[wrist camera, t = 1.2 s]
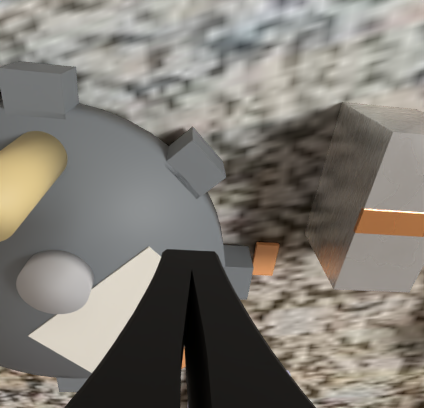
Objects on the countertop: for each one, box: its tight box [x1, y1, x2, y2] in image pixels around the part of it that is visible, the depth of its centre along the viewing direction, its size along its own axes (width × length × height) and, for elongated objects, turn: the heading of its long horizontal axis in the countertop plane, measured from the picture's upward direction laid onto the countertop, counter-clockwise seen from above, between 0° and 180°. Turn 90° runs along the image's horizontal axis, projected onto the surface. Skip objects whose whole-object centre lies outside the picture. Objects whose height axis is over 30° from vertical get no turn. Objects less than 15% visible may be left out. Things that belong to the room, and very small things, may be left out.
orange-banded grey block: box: [305, 102, 424, 292], centre depth 17 cm, size 8×4×5 cm, turn 174°
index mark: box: [252, 242, 279, 276], centre depth 21 cm, size 2×1×1 cm, turn 174°
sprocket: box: [0, 61, 254, 392], centre depth 17 cm, size 21×21×7 cm
